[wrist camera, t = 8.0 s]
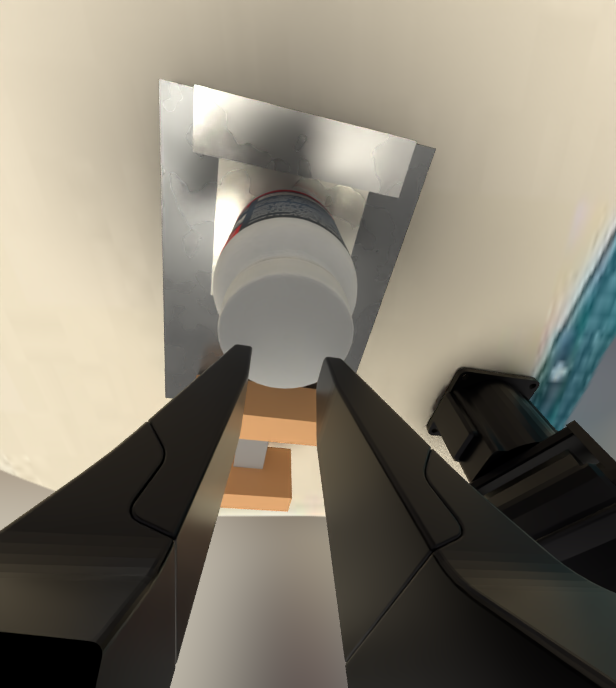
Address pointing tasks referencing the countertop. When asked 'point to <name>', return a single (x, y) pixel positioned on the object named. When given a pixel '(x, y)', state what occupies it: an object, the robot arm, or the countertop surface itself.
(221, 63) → the countertop surface
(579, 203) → the countertop surface
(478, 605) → the robot arm
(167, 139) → the silver frame
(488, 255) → the countertop surface
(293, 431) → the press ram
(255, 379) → the pill bottle
